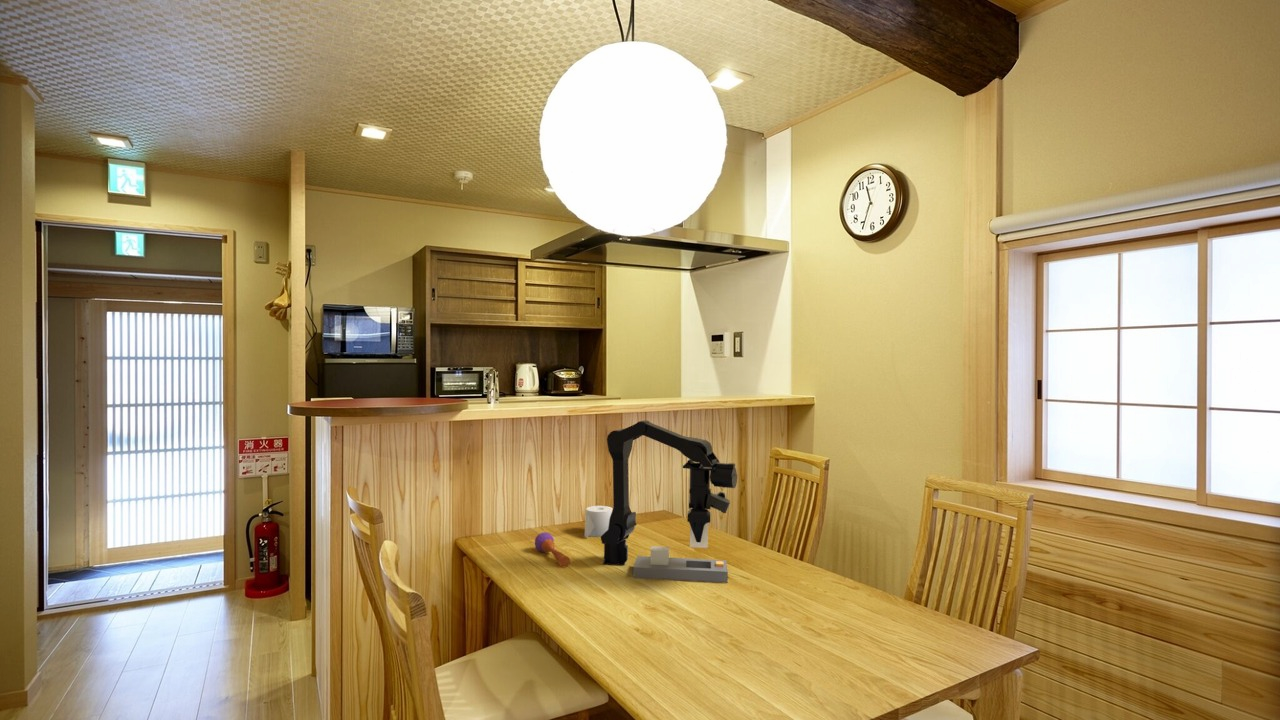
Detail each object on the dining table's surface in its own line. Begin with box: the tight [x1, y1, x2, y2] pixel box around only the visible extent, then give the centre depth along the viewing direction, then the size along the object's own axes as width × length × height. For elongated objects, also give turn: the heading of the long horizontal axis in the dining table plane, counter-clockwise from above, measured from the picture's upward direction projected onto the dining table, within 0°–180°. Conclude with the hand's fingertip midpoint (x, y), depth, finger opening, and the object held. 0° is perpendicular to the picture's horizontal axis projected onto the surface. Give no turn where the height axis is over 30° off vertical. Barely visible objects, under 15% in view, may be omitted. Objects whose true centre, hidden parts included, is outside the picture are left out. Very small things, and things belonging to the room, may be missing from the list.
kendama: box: [534, 532, 571, 568], centre depth 190 cm, size 6×6×20 cm
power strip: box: [632, 545, 729, 584], centre depth 177 cm, size 26×10×7 cm, turn 84°
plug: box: [689, 523, 709, 549], centre depth 176 cm, size 5×4×7 cm
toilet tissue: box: [583, 505, 613, 539], centre depth 216 cm, size 9×13×9 cm
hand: (698, 539), depth 176 cm, fingers closed on plug, 4 cm apart
